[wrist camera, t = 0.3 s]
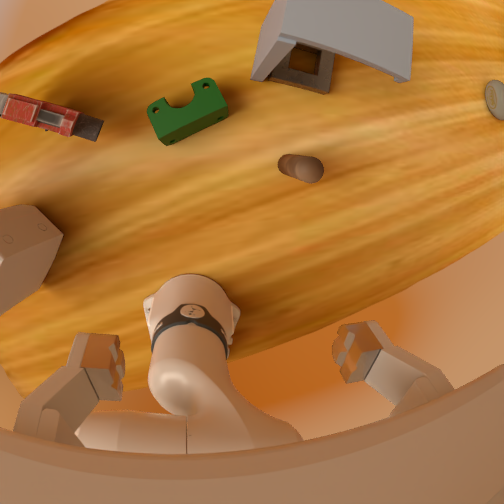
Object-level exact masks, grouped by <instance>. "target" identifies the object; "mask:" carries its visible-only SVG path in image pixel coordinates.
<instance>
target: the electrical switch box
mask: <svg viewBox="0 0 504 504" xmlns="http://www.w3.org/2000/svg"><path fill="white" fill-rule="evenodd" d="M63 235H64V234H63V233H62V232H61V231H60V230H59V229H58V228H56V227H55V226H54V225H53V224H52V223H51V222H50V221H49V220H48V219H47V218H46V217H45V216H44V215H43V214H42V213H41V212H40V211H39V210H38V209H37V208H36V207H35V206H31V205H17V206H12V207H8V208H3V209H0V316H1V315H2V314H3V313H5V312H6V311H8V310H9V309H11V308H12V307H13V306H15V305H16V304H18V303H19V302H21V301H22V300H24V299H25V298H26V297H28V296H29V295H31V294H32V293H34V292H35V291H37V290H38V289H39V288H40V286H41V284H42V282H43V280H44V278H45V276H46V274H47V273H48V271H49V269H50V267H51V265H52V263H53V260H54V259H55V256H56V253H57V251H58V248H59V246H60V243H61V240H62V238H63Z"/></svg>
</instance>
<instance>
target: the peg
mask: <svg viewBox="0 0 504 504" xmlns="http://www.w3.org/2000/svg"><path fill="white" fill-rule="evenodd" d="M278 168H279V170H280V171H281V172H282V173H283V174H285V175H288V176H291V177H293V178H296V179H299V180H301V181H304V182H307V183H316V182H318V181H319V180H320V179H321V178H322V176H323V173H324V167H323V164H322V163H321V161H320V160H319V159H317V158H315V157H309V156H300V155H291V154H286V155H283V156H282V157H281V158H280V159H279V161H278Z"/></svg>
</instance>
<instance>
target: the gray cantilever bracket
mask: <svg viewBox="0 0 504 504" xmlns="http://www.w3.org/2000/svg"><path fill="white" fill-rule="evenodd" d="M296 41H298V42H301V43H305V44H308V45H312V46H315V47H318V48H321V49H324V50H328V51H331V52H333V53H336V54H339V55H342V56H345V57H348V58H350V59H353V60H356V61H358V62H361V63H363V64H366V65H368V66H370V67H373V68H375V69H378V70H380V71H382V72H384V73H387V74H389V75H391V76H393V77H394V81H396V82H398V83H401V82H406V81H410V75H411V63H412V46H413V17H412V16H410V15H408V14H407V13H405V12H403V11H401V10H399V9H397V8H395V7H393V6H392V5H390V4H388V3H386V2H384V1H382V0H275V1H274V3H273V5H272V7H271V9H270V11H269V13H268V15H267V17H266V19H265V20H264V22H263V24H262V27H261V31H260V36H259V41H258V45H257V50H256V55H255V60H254V65H253V70H252V74H251V79H250V80H255V81H260V82H263V80H264V79H265V78H266V77H267V76H268V75H269V74H270V72H271V71H272V70H273V69H274V68H275V67H276V66H277V65H278V63H279V62H280V61H281V60H282V59H283V58H284V57H285V56H286V55H287V54H288V53H289V51H290V50H291V49H292V48H293V47H294V46H295V45H296Z"/></svg>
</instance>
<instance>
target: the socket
mask: <svg viewBox="0 0 504 504" xmlns="http://www.w3.org/2000/svg"><path fill="white" fill-rule="evenodd" d="M293 48H297V49H301V50H304V51H308V52H311V53H315V54H317V57H316V63H315V69H314V75H312V74H309V73H305V72H302V71H298V70H294V69H290V68H288V66H289V61H290V56H291V50H292V49H291V50H290V51H289V53H288V54H287V55H286V56H285V57H284V58H283V59H282V60H281V61H280V62H279V63H278V65H277V66H276V67H275V68H274V69H273V70H272V71H271V72H270V75H269V80H268V81H273V82H277V83H282V84H286V85H290V86H294V87H298V88H302V89H305V90H309V91H313V92H316V93H320V94H323V95H324V94H326V93H329V88H330V82H331V76H332V70H333V63H334V56H335V53H333V52H331V51H328V50H324V49H321V48H318V47H315V46H312V45H308V44H305V43H301V42H298V41H296V45H295V46H294V47H293Z"/></svg>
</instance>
